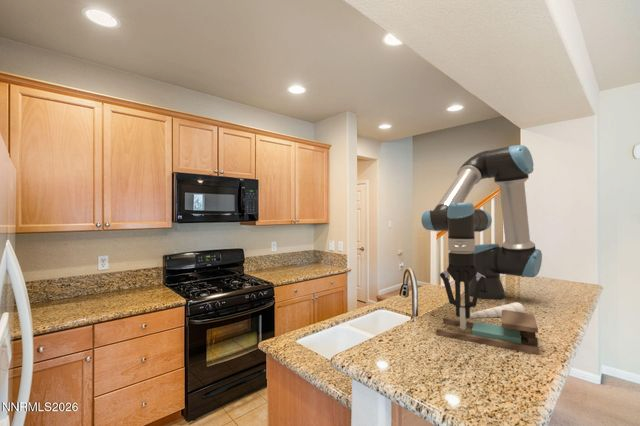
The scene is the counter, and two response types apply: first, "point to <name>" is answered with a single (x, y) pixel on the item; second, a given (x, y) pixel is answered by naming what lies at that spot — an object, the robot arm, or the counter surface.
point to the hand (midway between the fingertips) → (463, 327)
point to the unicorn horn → (498, 311)
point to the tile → (496, 332)
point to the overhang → (509, 320)
